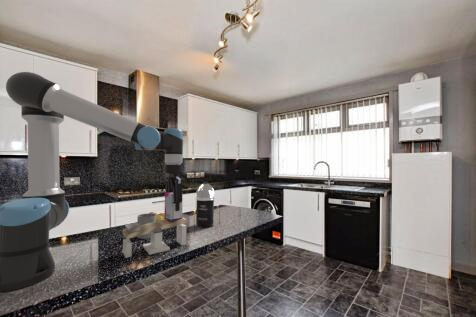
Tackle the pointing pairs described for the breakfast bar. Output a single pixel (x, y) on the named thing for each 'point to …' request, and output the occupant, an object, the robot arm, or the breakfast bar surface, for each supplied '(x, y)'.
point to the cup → (144, 220)
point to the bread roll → (159, 216)
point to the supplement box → (170, 207)
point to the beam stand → (156, 242)
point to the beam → (150, 227)
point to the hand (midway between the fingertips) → (173, 216)
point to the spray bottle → (205, 205)
